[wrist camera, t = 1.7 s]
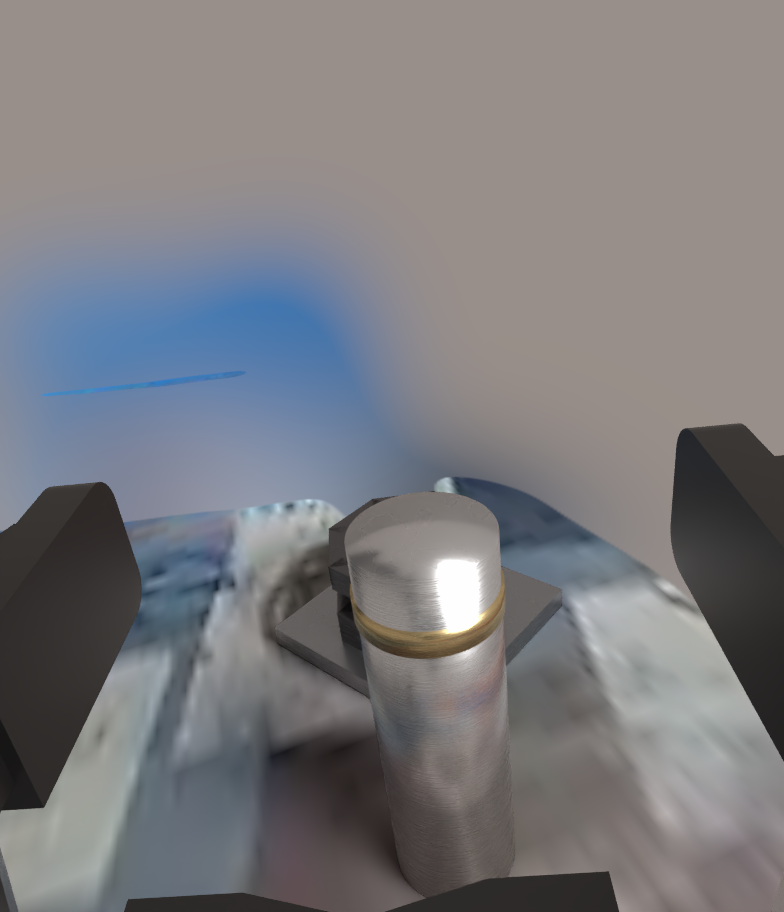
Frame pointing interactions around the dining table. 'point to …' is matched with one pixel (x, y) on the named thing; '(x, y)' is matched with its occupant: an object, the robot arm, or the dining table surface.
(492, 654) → the steel tube
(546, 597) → the collar stand
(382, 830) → the dining table surface
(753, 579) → the robot arm
